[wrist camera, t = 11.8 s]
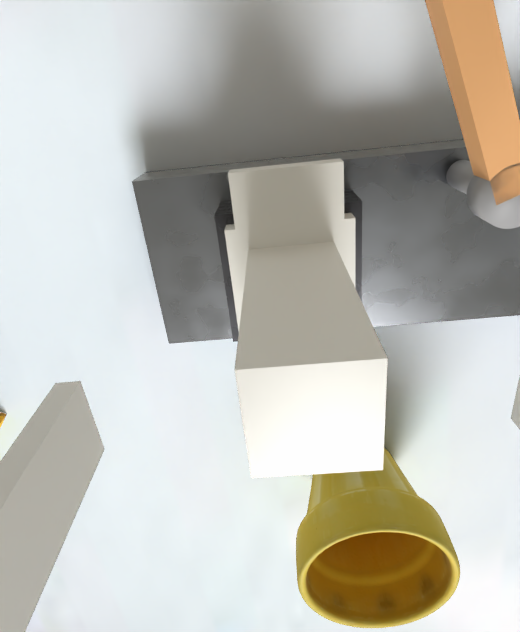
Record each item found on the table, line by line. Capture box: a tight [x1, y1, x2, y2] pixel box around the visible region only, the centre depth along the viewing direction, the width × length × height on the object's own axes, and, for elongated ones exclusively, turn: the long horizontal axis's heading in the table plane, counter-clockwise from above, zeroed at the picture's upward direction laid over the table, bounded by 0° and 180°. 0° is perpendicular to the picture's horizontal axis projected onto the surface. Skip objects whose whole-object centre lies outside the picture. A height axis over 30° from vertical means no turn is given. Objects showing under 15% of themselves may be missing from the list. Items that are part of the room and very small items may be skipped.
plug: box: [224, 158, 388, 478], centre depth 18 cm, size 6×8×14 cm
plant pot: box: [296, 448, 460, 628], centre depth 32 cm, size 10×10×10 cm
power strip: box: [132, 139, 520, 343], centre depth 24 cm, size 28×10×6 cm, turn 96°
